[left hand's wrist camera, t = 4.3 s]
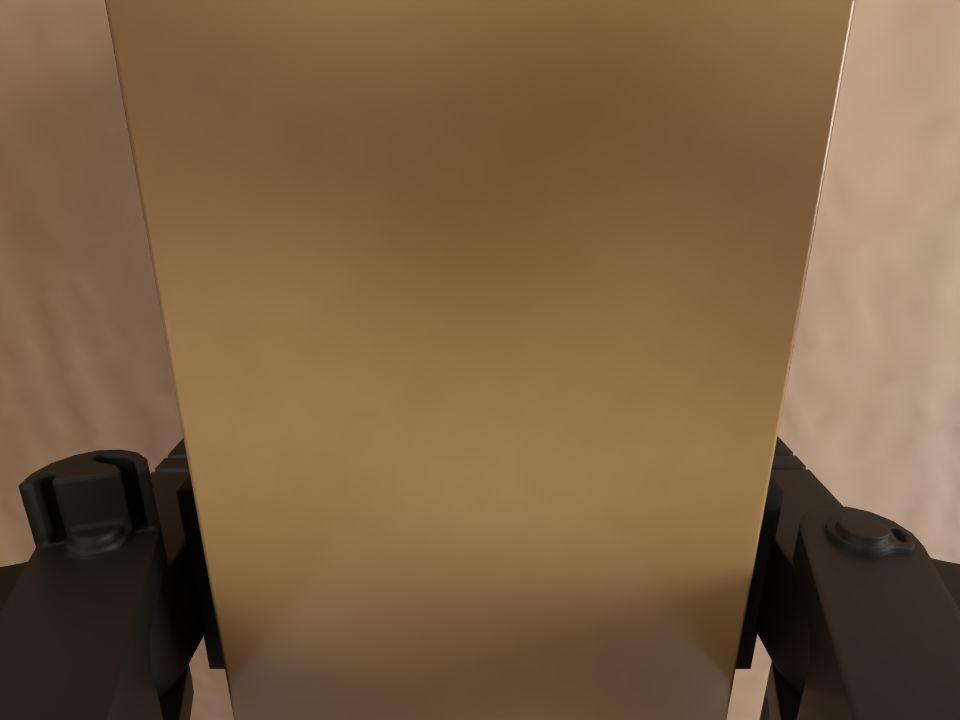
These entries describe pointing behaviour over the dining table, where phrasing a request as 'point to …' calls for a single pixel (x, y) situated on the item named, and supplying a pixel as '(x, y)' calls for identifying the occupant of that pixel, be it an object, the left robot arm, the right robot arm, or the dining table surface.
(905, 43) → the dining table surface
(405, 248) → the post
